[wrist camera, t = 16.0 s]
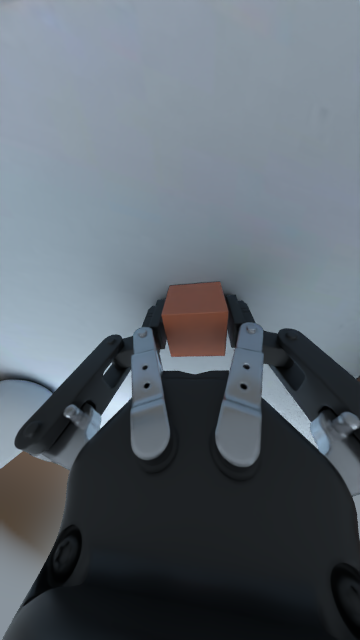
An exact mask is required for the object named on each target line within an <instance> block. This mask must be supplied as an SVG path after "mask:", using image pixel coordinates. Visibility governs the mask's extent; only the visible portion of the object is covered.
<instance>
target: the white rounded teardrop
mask: <svg viewBox="0 0 360 640" xmlns="http://www.w3.org/2000/svg"><path fill="white" fill-rule="evenodd" d="M51 395H52V393H51V392H50V391H49V390H48V389H47V388H45V387H43V386H41V385H39V384H37V383H34V382H31V381H26V380H4V381H0V468H2V467H3V466H4V465H6V464H7V463H8V462H9V461H11V460H12V459H13V458H14V457H16V456H17V455H18V454H19V453H21V452H22V450H20V449H17V448H16V447H15V445H14V441H15V437H16V435H17V433H18V431H19V430H20V428H21V427H22V426H23V425H24V424H25V423H26V422H27V421H28V420H29V418H30V417H31V416H32V415H33V414H34V413H35V412H36V411H37V410H38V409H39V408H40V407H41V406H42V405H43V404H44V403H45V402H46V400H47V399H48V398H49V397H50V396H51Z"/></svg>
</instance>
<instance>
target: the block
mask: <svg viewBox="0 0 360 640" xmlns="http://www.w3.org/2000/svg"><path fill="white" fill-rule="evenodd" d="M161 316H162V320H163V324H164V328H165V333H166V337H167V341H168V345H169V349H170V353H171V357H184V356H225V349H226V336H227V324H228V308H227V304H226V301H225V297H224V294H223V290H222V286H221V283H220V282H210V283H197V284H184V285H171V286H169V290H168V293H167V297H166V300H165V304H164V307H163V311H162V314H161Z"/></svg>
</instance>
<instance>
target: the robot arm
mask: <svg viewBox="0 0 360 640" xmlns="http://www.w3.org/2000/svg"><path fill="white" fill-rule="evenodd" d="M165 300H166V299H164V300H158V301H157V304H156V306H152V307H151V308H150V309H149V310H148V312H147V315H146V317H145V320H144V322H143V325H142V327H141V328H139V329H137V330H136V331H135V332H134V334H133V336H131V337H128V338H124V339H122V337H121V336H120V335H117V334H115V335H111V336H108V337H107V338H105V339H104V340H103V341H102V342H101V343H100V344H99V345H98V346H97V348H96V349H95V350H94V351H93V352H92V353H91V354H90V355H89V356H88V357H87V358H86V359H85V360H84V361H83V362H82V363H81V364H80V366H79V367H78V368H77V369H76V370H75V371H74V372H73V373H72V374H71V375H70V376H69V377H68V378H67V379H66V380H65V381H64V382H63V384H62V385H61V386H60V387H59V388H58V389H57V390H56V391H55V392H54V393H53V394H52V395H51V396H50V397H49V398H48V399H47V400H46V402H45V403H44V404H43V405H42V406H41V407H40V408H39V409H38V410H37V411H36V412H35V413H34V414H33V415H32V416H31V417H30V418H29V420H28V421H27V422H26V423H25V424H24V425H23V426H22V427H21V428H20V430H19V431H18V433H17V435H16V437H15V441H14V445H15V447H16V448H17V449H20V450H22V451H25V452H27V453H29V454H30V455H32V456H34V457H37V458H40V459H42V460H45V461H48V462H49V461H51V462H53V463H56V464H59V465H61V466H63V467H64V468H66V469H68V470H70V474H69V477H68V482H67V493H66V504H65V509H64V514H63V519H62V523H61V527H60V531H59V534H58V536H57V539H56V542H55V544H54V546H53V548H52V550H51V552H50V555H49V556H48V558H47V560H46V562H45V564H44V566H43V568H42V569H41V571H40V574H39V575H38V577H37V579H36V580H35V582H34V584H33V585H32V587H31V589H30V591H29V592H28V594H27V596H26V597H25V599H24V601H23V603H22V604H21V606H20V608H19V610H18V611H17V613H16V615H15V617H14V618H13V620H12V623H11V624H10V626H9V628H8V630H7V631H6V633H5V635H4V637H3V640H360V540H359V533H358V521H357V512H356V508H355V504H354V501H353V498H352V497H353V496H356V495H359V494H360V382H359V381H358V380H356V379H355V378H354V377H353V376H352V375H350V374H349V373H348V372H347V371H346V370H345V369H343V368H342V367H341V366H340V365H339V364H337V363H336V362H335V361H334V360H333V359H332V358H330V357H329V356H328V355H327V354H326V353H324V352H323V351H322V350H321V349H320V348H319V347H317V346H316V345H315V344H314V343H313V342H311V341H310V340H309V339H308V338H307V337H306V336H304V335H303V334H302V333H301V332H299V331H297V330H294V329H288V328H286V329H281V330H280V331H279V332H278V334H277V333H271V332H267V331H264V330H263V328H262V327H261V326H260V325H258V324H256V323H255V321H254V319H253V317H252V314H251V312H250V310H249V308H248V306H247V304H246V303H245V302H243V301H238V300H237V298H236V295H227V296H225V301H226V304H227V308H228V324H227V330H228V334H229V339H230V343H231V347H232V348H235V350H234V354H233V358H232V363H231V367H230V372H229V371H208V372H204V373H200V374H189V373H185V372H181V371H163V367H162V363H161V358H160V354H159V353H160V349H165V345H166V340H167V337H166V333H165V328H164V324H163V320H162V316H161V314H162V311H163V307H164V304H165ZM111 362H112V363H113V364H112V365H111V366H110V368H109V369H108V370H107V372H106V373H105V374H104V376H103V373H104V371H105V370H106V368H107V367H108V366H109V365H110V363H111ZM263 363H264V364H268V365H269V366H270V368H271V369H272V370H273V372H274V373H275V374H276V376H277V377H278V378H279V380H280V381H281V382H282V384H283V385H284V386H285V388H286V389H287V390H288V392H289V393H290V394H291V396H292V397H293V398H294V400H295V401H296V402H297V404H298V405H299V406H300V408H301V409H302V410H303V412H304V413H305V414H306V416H307V417H308V418H309V420H310V421H311V424H310V431H311V434H312V436H313V438H314V441H315V443H316V444H317V446H318V449H317V448H316V447H315V446H314V445H313V444H312V443H310V442H309V441H308V440H307V439H306V438H305V437H304V436H303V435H302V434H301V433H300V432H299V431H298V430H296V429H295V428H294V427H293V426H292V425H291V424H290V423H289V422H288V421H287V420H286V419H285V418H284V417H282V416H281V415H280V414H279V413H278V412H277V411H276V410H275V409H274V408H273V407H272V406H271V405H270V404H268V403H267V402H266V401H265V400H264V399H263V398H262V397H261V395H262V376H263ZM130 370H131V371H132V398H131V399H130V400H129V401H128V402H127V403H126V404H125V405H124V406H123V407H122V408H121V409H120V410H119V411H118V412H117V413H116V414H115V415H114V416H113V417H112V418H111V419H110V420H109V421H108V422H107V423H106V424H105V425H104V426H103V427H102V428H101V429H100V424H101V415H102V414H103V412H104V410H105V409H106V407H107V406H108V404H109V403H110V401H111V400H112V398H113V396H114V395H115V393H116V392H117V390H118V389H119V387H120V386H121V384H122V383H123V381H124V379H125V378H126V376H127V375H128V373H129V372H130Z"/></svg>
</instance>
